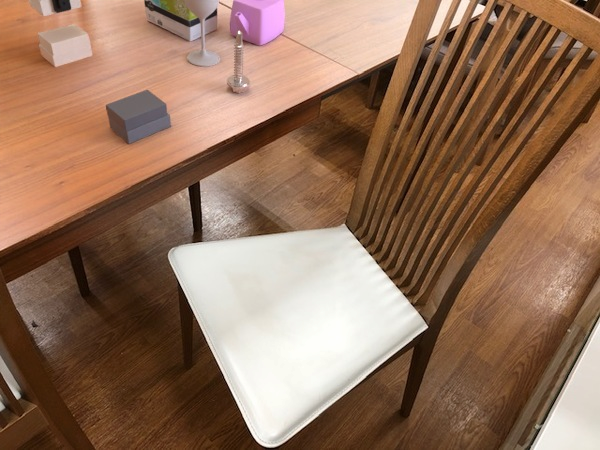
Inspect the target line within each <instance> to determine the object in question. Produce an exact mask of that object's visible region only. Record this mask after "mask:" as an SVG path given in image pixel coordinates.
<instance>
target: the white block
mask: <svg viewBox="0 0 600 450" xmlns="http://www.w3.org/2000/svg"><path fill="white" fill-rule="evenodd" d="M28 3H29V7H30V8H32V9H33V10H35V12H37V13H39V15H41V16H42V17H47V16H52V15H55V14H58V13H57V12H55V10H54V6H53V2H52V0H28ZM70 4H71V10H72V11H73V10H75V9H79V8H82V2H81V0H70ZM71 10H70V11H71Z"/></svg>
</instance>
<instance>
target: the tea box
mask: <svg viewBox="0 0 600 450" xmlns="http://www.w3.org/2000/svg"><path fill="white" fill-rule="evenodd" d="M143 2H144V9H145V17H146V21H147V22H150V23H152V24H154V25H156V26H159V27H160V28H163V29H164V30H167V31H168V32H171V33H172V34H175V35H176V36H178V37H180V38H182V39H185V40H186V41H187V42H193V41H195V40H197V39H201V23H200V19H199V18H198V17H197V16H196V15H195V14H193V13H192V12H191V11H190V10H189V9H188V8H187V6H186V4H185V2H184V0H143ZM217 29H218V7H217V8H216V9H215V10H214V12H213V13H211V14H210V15H209V16H208V17H206V18H205V21H204V36H206V35H208V34H211V33H212V32H214V31H216V30H217Z"/></svg>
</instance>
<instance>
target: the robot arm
mask: <svg viewBox="0 0 600 450" xmlns="http://www.w3.org/2000/svg"><path fill="white" fill-rule="evenodd" d="M52 2H53V6H54V10H55V12H57V13H56V14H60V13H64V12H68V11H71V4H70V0H52Z"/></svg>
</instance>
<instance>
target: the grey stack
mask: <svg viewBox="0 0 600 450" xmlns="http://www.w3.org/2000/svg"><path fill="white" fill-rule="evenodd" d="M105 109H106V113H107V118H108V123H109V127H110V129H111V130H112V131H113V132H114V133H116V134H117V135H118V136H119V137H120V138H122V139H123V141H125V142H126V143H127V144H128V145H130V144H133V143H135V142H137V141H140V140H142V139H144V138H147V137H149V136H152V135H153V134H156V133H159V132H162V131H164V130H166V129H168V128H171V127H172V123H171V115H170V114H169V112H168V109H167V103H166V102H165V101H163V100H162V99H160V98H159V97H158V96H157V95H155V94H154V93H153V92H151V91H150V90H149V89H145V90H143V91H139V92H137V93H134V94H131V95H129V96H126V97H122V98H120V99H118V100H115V101H111V102H109V103H106V104H105Z"/></svg>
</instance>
